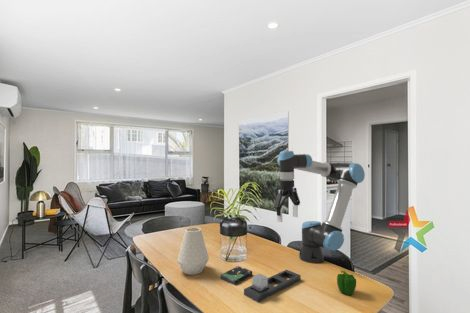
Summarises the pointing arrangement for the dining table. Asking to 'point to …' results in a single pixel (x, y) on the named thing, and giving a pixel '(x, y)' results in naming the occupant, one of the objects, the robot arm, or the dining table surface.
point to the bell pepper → (346, 283)
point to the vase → (192, 252)
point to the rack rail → (272, 289)
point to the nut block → (259, 283)
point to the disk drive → (236, 275)
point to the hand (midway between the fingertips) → (287, 219)
